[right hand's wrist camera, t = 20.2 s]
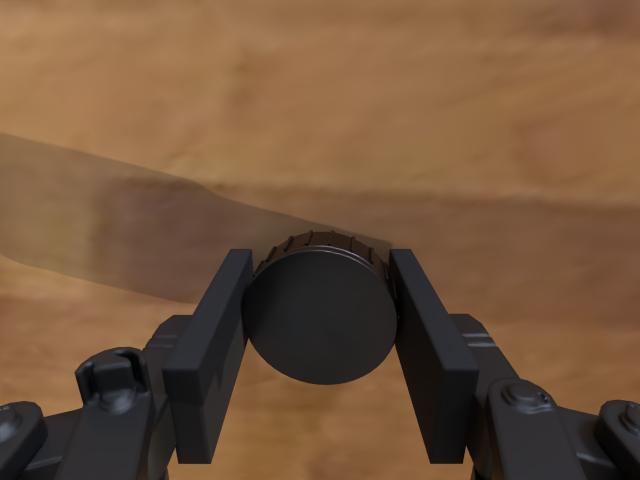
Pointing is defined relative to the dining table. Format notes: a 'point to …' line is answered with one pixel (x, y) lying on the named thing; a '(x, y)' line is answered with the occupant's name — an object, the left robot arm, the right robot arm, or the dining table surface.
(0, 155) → the dining table surface
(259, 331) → the lid
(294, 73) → the dining table surface
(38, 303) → the dining table surface
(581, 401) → the dining table surface
